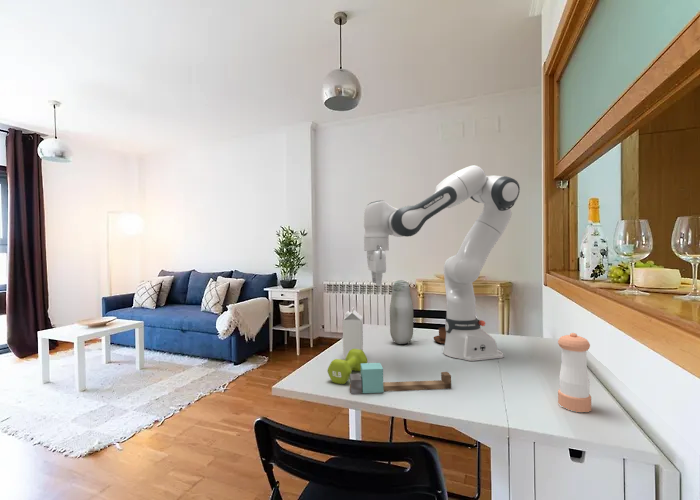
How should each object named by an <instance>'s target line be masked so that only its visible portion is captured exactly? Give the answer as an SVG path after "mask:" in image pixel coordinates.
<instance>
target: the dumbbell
mask: <svg viewBox="0 0 700 500" xmlns="http://www.w3.org/2000/svg"><path fill="white" fill-rule="evenodd" d="M361 363H368V357H367V355H366V353H365V352H364V350H363V351H362V350H360V349H351V350H350V351H349V352H348V354H347V356H346V358H345V360H344V359H340V358H334V359H332V361H331V362H330V364H329V366H328V367H327V374H328V376H329V378H330V380H331V382H332V383H334V384H338V385H345V384H346V383H347V382H348V381H349V380H350V374H353V373H352V371H353V372H361Z"/></svg>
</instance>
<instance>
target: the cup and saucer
mask: <svg viewBox="0 0 700 500" xmlns="http://www.w3.org/2000/svg"><path fill="white" fill-rule="evenodd" d="M433 340H434V342H436V343H439V344H441V345H445V340H446V329H445V327H444V326H442V327H438V335H435V336H433Z"/></svg>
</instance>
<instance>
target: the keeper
mask: <svg viewBox="0 0 700 500" xmlns="http://www.w3.org/2000/svg"><path fill="white" fill-rule="evenodd" d="M360 376H361V379H362V394H379V393H380V394H381V393H384V391H383V382H384V367H383V366H382V364H381V362H367V363H361V371H360Z"/></svg>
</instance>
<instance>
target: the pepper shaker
mask: <svg viewBox="0 0 700 500" xmlns="http://www.w3.org/2000/svg"><path fill="white" fill-rule="evenodd" d="M557 344H558V346H559V347H560V348H561V364H560V372H559V377H558V379H559V389H558V390H557V403H559V404H560V405H561V406H563V407H564V408H567V409H569V410H572V411H576V412H575V413H577V412H589V411H591V412H592V396H591V394H590V385H591V384H590V378H589V373H588V367H587V366H588V365H587V364H588V363H587V361H588V360H587V358H588V357H587V351H589V349H590V347H591V344H590V342H589V340H588V339H587V338H585V337H583V336H580V335H578V334H577V333H575V332H571V333H570V334H566V335H565V334H564V335H562V336H560V337H559V338H558V340H557ZM559 404H558V405H559ZM564 408H563V409H564ZM569 410H568V411H569ZM572 411H571V412H572ZM589 413H590V412H589Z"/></svg>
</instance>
